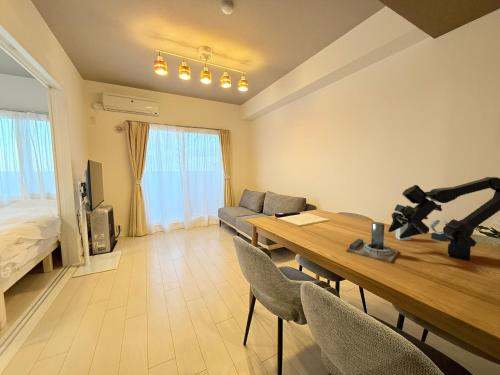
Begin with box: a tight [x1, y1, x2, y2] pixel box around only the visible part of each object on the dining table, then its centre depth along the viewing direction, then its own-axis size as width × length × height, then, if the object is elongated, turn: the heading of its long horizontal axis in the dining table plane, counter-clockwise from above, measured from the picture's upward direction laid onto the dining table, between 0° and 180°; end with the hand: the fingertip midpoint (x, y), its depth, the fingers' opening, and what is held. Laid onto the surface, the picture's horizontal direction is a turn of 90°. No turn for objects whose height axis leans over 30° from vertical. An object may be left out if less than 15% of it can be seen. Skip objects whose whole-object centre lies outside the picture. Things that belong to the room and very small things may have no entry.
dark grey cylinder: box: [370, 221, 385, 250], centre depth 96 cm, size 5×5×13 cm
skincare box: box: [395, 223, 413, 241], centre depth 114 cm, size 6×4×12 cm
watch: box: [429, 218, 449, 242], centre depth 112 cm, size 6×8×11 cm
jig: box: [345, 238, 400, 264], centre depth 98 cm, size 18×16×3 cm
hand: (394, 234), depth 94 cm, fingers open, 9 cm apart
